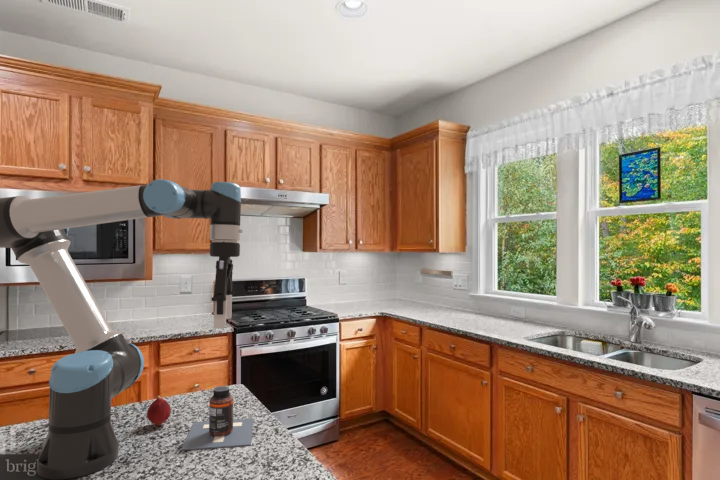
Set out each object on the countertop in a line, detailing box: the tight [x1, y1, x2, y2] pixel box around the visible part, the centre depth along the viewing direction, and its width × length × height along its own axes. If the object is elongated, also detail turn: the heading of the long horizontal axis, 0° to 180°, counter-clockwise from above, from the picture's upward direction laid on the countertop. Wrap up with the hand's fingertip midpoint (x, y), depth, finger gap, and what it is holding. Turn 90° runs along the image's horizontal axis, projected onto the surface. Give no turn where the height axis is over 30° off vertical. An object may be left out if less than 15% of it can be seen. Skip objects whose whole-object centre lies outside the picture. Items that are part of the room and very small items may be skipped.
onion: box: [146, 395, 172, 427], centre depth 115 cm, size 6×6×8 cm
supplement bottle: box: [208, 385, 234, 436], centre depth 110 cm, size 6×6×11 cm
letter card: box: [181, 418, 255, 451], centre depth 110 cm, size 16×16×1 cm
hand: (223, 322), depth 111 cm, fingers open, 13 cm apart
